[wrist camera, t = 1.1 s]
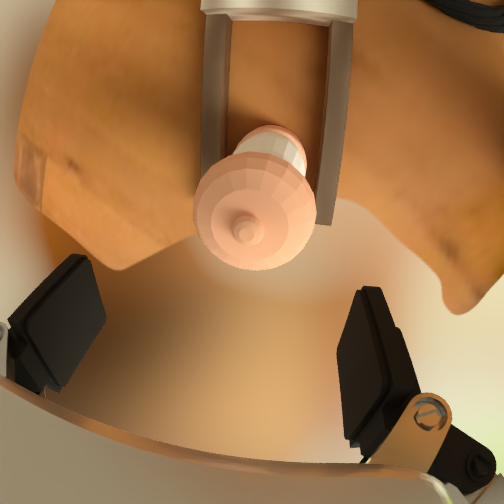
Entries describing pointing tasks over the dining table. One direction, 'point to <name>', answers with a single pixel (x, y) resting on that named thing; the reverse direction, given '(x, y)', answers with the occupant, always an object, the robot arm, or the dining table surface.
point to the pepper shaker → (257, 201)
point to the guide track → (336, 85)
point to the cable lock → (473, 13)
